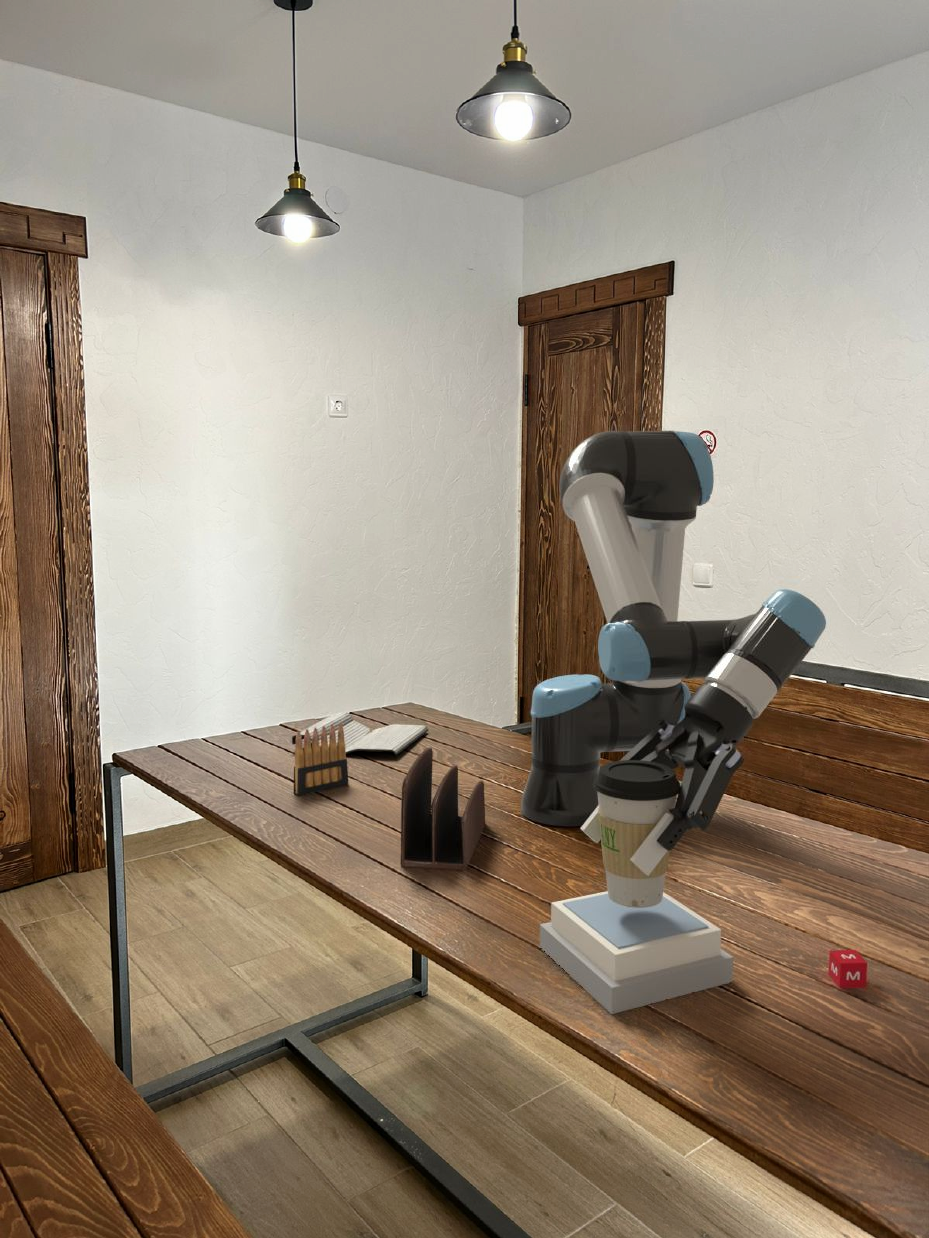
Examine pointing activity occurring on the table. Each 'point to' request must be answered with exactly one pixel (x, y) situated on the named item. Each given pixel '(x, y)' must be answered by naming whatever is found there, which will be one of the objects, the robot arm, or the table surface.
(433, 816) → the letter holder
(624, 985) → the plinth
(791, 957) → the table surface
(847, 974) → the red letter cube
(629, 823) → the coffee cup
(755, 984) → the table surface
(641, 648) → the robot arm
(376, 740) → the open book
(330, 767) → the ammunition clip
